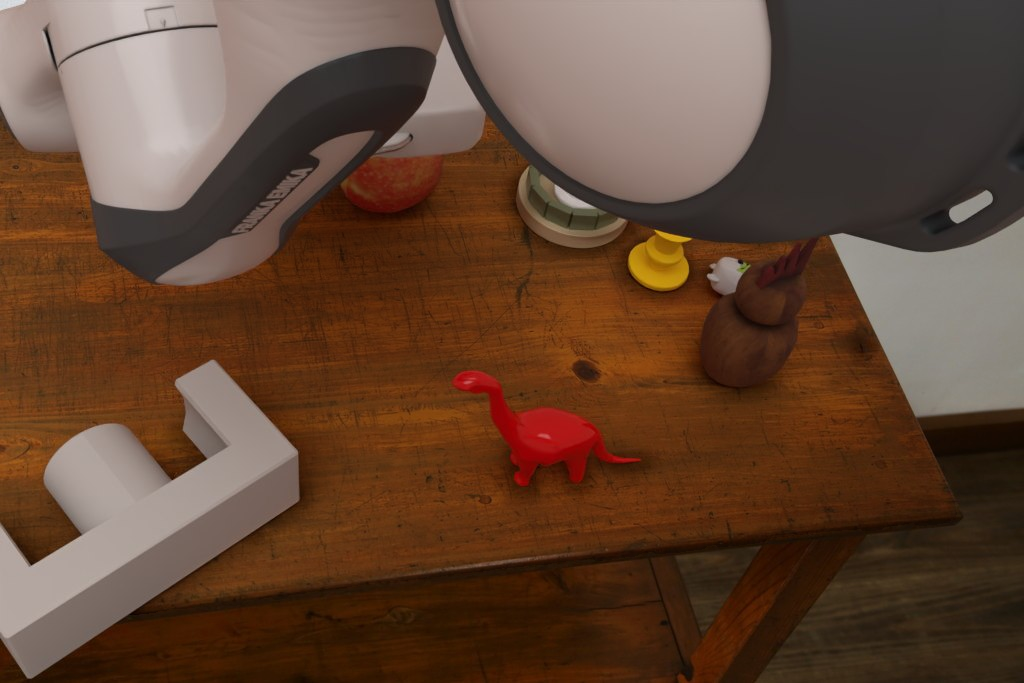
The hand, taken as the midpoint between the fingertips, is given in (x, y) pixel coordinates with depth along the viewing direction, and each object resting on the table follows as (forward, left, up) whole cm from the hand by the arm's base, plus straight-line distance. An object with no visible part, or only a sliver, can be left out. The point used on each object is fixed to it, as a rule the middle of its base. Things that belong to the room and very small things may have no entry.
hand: (494, 13), depth 67 cm
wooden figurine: (-20, -13, -23) cm, 33 cm away
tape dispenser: (-11, +32, -23) cm, 41 cm away
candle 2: (-9, -14, -23) cm, 29 cm away
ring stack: (0, -12, -23) cm, 26 cm away
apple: (+8, +2, -23) cm, 25 cm away
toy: (-25, -24, -21) cm, 41 cm away
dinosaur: (-20, +6, -23) cm, 31 cm away
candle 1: (0, -12, -22) cm, 25 cm away
